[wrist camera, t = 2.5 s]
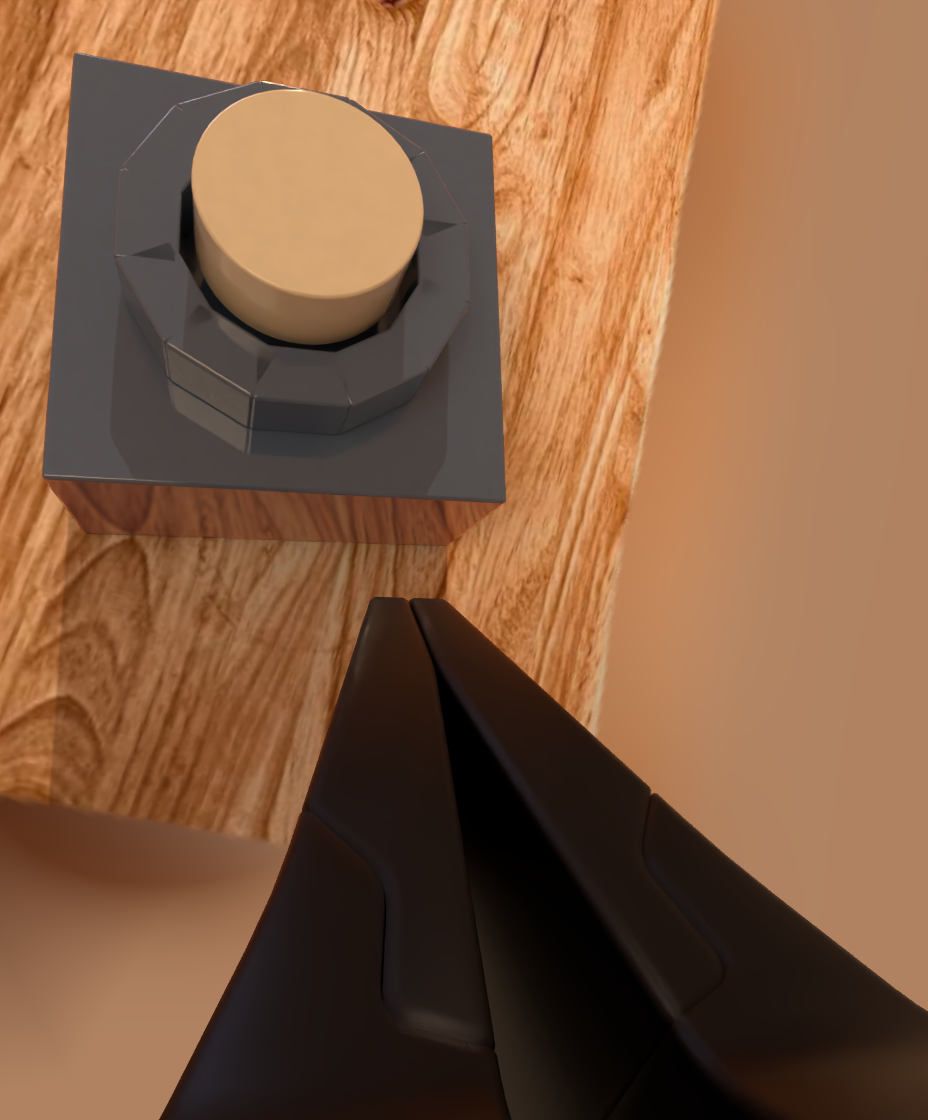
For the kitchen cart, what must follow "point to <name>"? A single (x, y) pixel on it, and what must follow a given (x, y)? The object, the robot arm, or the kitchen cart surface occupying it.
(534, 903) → the robot arm
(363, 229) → the tan push button
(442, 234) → the grey button base
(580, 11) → the kitchen cart surface
